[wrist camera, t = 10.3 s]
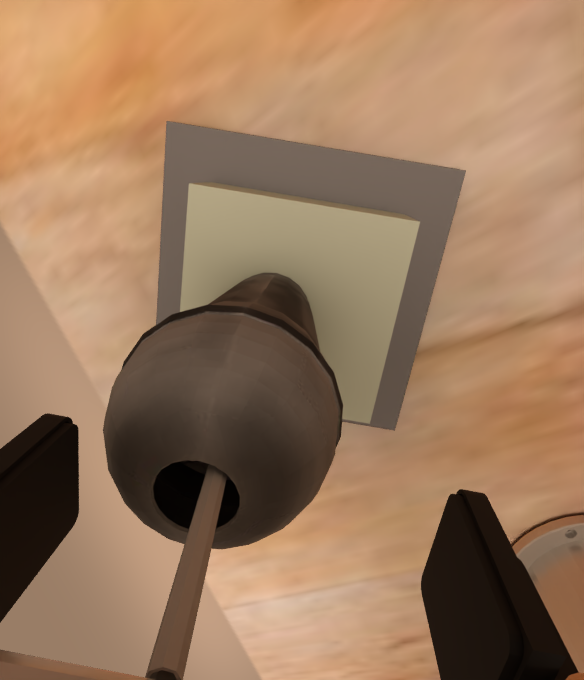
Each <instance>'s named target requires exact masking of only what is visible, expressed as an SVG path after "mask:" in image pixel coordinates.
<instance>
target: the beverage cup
mask: <svg viewBox="0 0 584 680" xmlns="http://www.w3.org/2000/svg"><path fill="white" fill-rule="evenodd" d="M342 414H343V402H342V399H341V395H340V392H339V388H338V385H337V381H336V378H335V374H334V372H333V370H332V369H331V367H330V366H329V365H328V363H327V362H326V360H325V358H324V357H323V355H322V353H321V352H320V348H319V343H318V338H317V333H316V328H315V324H314V319H313V314H312V311H311V307H310V304H309V301H308V299H307V296H306V295H305V293H304V292H303V290H302V289H301V287H300V286H299V285H298V284H297V283H296V282H294V281H293V280H292V279H290V278H289V277H286V276H284V275H281V274H278V273H265V272H264V273H260V274H257V275H253V276H251V277H249V278H246V279H244V280H243V281H241V282H240V283H238V284H237V285H235V286H234V287H232V288H231V289H230V290H228V291H227V292H225V293H224V294H222V295H221V296H219V297H218V298H217V299H215V300H214V301H212V302H211V303H209V304H208V305H204V306H200V307H197V308H193V309H189V310H186V311H182V312H178V313H175V314H172V315H170V316H169V317H167V318H166V319H164V320H163V321H161V322H160V323H158V324H157V325H156V326H154V327H153V328H151V329H150V330H148V331H147V332H145V333H144V334H143V335H142V336H141V338H140V339H139V341H138V342H137V344H136V345H135V347H134V348H133V349H132V351H131V352H130V354H129V355H128V357H127V358H126V360H125V361H124V364H123V366H122V370H121V372H120V373H119V375H118V376H117V378H116V380H115V383H114V385H113V387H112V390H111V395H110V399H109V403H108V407H107V411H106V416H105V421H104V428H103V433H104V440H105V448H106V455H107V462H108V470H109V472H110V474H111V476H112V478H113V480H114V482H115V484H116V486H117V488H118V490H119V492H120V494H121V496H122V498H123V500H124V502H125V504H126V505H127V506H128V507H129V508H130V509H131V510H132V511H133V512H134V513H135V514H136V515H137V517H138V518H139V519H140V520H141V521H142V522H143V523H144V524H145V525H147V526H149V527H150V528H152V529H154V530H155V531H157V532H158V533H160V534H161V535H163V536H165V537H166V538H168V539H170V540H173V541H177V542H179V543H183V544H185V545H184V549H183V552H182V555H181V559H180V562H179V565H178V569H177V572H176V575H175V579H174V582H173V585H172V589H171V592H170V595H169V599H168V602H167V606H166V609H165V612H164V616H163V619H162V622H161V626H160V629H159V633H158V636H157V640H156V643H155V646H154V649H153V653H152V656H151V659H150V663H149V666H148V670H147V673H146V676H145V678H149V679H155V680H183V676H184V671H185V667H186V662H187V657H188V652H189V648H190V643H191V639H192V635H193V630H194V625H195V621H196V616H197V612H198V607H199V603H200V598H201V593H202V589H203V584H204V580H205V575H206V571H207V566H208V561H209V557H210V552H211V548H212V549H227V548H232V547H238V546H244V545H249V544H251V543H254V542H257V541H259V540H261V539H263V538H265V537H267V536H269V535H271V534H273V533H275V532H277V531H279V530H281V529H283V528H284V527H285V526H286V525H288V524H289V523H290V522H291V521H292V520H293V519H294V518H295V517H296V516H297V515H298V514H299V513H300V512H301V511H302V510H303V509H304V508H305V507H306V506H307V505H308V504H309V503H310V502H311V501H312V500H313V499H314V497H315V496H316V494H317V493H318V491H319V489H320V487H321V485H322V483H323V481H324V479H325V476H326V474H327V472H328V470H329V468H330V466H331V464H332V461H333V458H334V455H335V449H336V446H337V444H338V442H339V440H340V437H341V427H342Z"/></svg>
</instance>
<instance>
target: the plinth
mask: <svg viewBox="0 0 584 680" xmlns="http://www.w3.org/2000/svg"><path fill="white" fill-rule="evenodd" d="M465 172H466V171H465V170H459V169H453V168H447V167H441V166H435V165H429V164H423V163H417V162H411V161H405V160H399V159H393V158H387V157H381V156H375V155H369V154H363V153H357V152H350V151H344V150H338V149H332V148H326V147H320V146H314V145H308V144H302V143H296V142H290V141H284V140H278V139H272V138H266V137H260V136H254V135H248V134H242V133H236V132H230V131H224V130H218V129H212V128H206V127H200V126H194V125H188V124H182V123H176V122H170V121H167V124H166V143H165V163H164V182H163V202H162V221H161V241H160V260H159V280H158V299H157V319H156V325H157V324H158V323H160V322H161V321H163V320H164V319H166V318H167V317H169V316H170V315H172V314H175V313H178V312H182V311H186V310H189V309H193V308H197V307H200V306H204V305H208V304H209V303H211V302H212V301H214V300H215V299H217V298H218V297H219V296H221V295H222V294H224V293H225V292H227V291H228V290H230V289H231V288H232V287H234V286H235V285H237V284H238V283H240V282H241V281H243V280H244V279H246V278H249V277H251V276H253V275H257V274H260V273H264V272H265V273H278V274H281V275H284V276H286V277H289V278H290V279H292V280H293V281H294V282H296V283H297V284H298V285H299V286H300V287H301V289H302V290H303V292H304V293H305V295H306V296H307V299H308V301H309V304H310V307H311V311H312V314H313V319H314V324H315V328H316V333H317V338H318V343H319V348H320V352H321V353H322V355H323V357H324V358H325V360H326V362H327V363H328V365H329V366H330V367H331V369H332V370H333V372H334V374H335V378H336V381H337V385H338V388H339V392H340V395H341V399H342V402H343V414H342V422H348V423H354V424H359V425H365V426H371V427H377V428H383V429H389V430H395V428H396V424H397V421H398V417H399V413H400V410H401V406H402V402H403V399H404V395H405V391H406V388H407V384H408V380H409V377H410V373H411V370H412V366H413V362H414V359H415V355H416V351H417V348H418V344H419V340H420V337H421V333H422V329H423V326H424V322H425V318H426V315H427V311H428V307H429V304H430V300H431V297H432V293H433V289H434V286H435V282H436V278H437V275H438V271H439V267H440V264H441V260H442V256H443V253H444V249H445V245H446V242H447V238H448V234H449V231H450V227H451V224H452V220H453V216H454V213H455V209H456V205H457V202H458V198H459V194H460V191H461V187H462V183H463V180H464V176H465Z"/></svg>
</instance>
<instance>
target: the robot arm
mask: <svg viewBox="0 0 584 680" xmlns="http://www.w3.org/2000/svg"><path fill="white" fill-rule="evenodd" d="M78 471H79V463H78V427H77V425H75V424H73V422H72V419H71V418H69V417H64V416H59V415H54V414H44V415H42V416H41V417H40V418H39V419H37V420H36V421H35V422H34V423H32V424H31V425H30V426H29V427H27V428H26V429H25V430H24V431H22V432H21V433H20V434H19V435H17V436H16V437H15V438H14V439H12V440H11V441H10V442H9V443H7V444H6V445H5V446H3V447H2V448H1V449H0V622H1V621H2V620H3V618H4V617H5V616H6V614H7V613H8V612H9V610H10V609H11V608H12V607H13V605H14V604H15V603H16V601H17V600H18V599H19V597H20V596H21V595H22V593H23V592H24V591H25V589H26V588H27V587H28V585H29V584H30V583H31V581H32V580H33V579H34V577H35V576H36V575H37V573H38V572H39V571H40V569H41V568H42V567H43V566H44V564H45V563H46V562H47V560H48V559H49V558H50V556H51V555H52V554H53V552H54V551H55V550H56V548H57V547H58V546H59V544H60V543H61V542H62V540H63V539H64V538H65V537H66V535H67V534H68V533H69V531H70V530H71V529H72V527H73V526H74V524H75V522H76V520H77V517H78V513H79V479H78V478H79V472H78ZM421 591H422V597H423V601H424V606H425V610H426V615H427V619H428V624H429V628H430V633H431V637H432V642H433V646H434V651H435V655H436V660H437V664H438V669H439V673H440V678H441V680H584V515H578V516H571V517H565V518H561V519H558V520H554V521H551V522H548V523H546V524H544V525H542V526H539V527H537V528H535V529H534V530H532V531H531V532H529V533H527V534H526V535H524V536H523V537H522V538H521V539H520V540H519V541H518V542H516V543H515V544H514V545H513V547H512V546H511V544H510V542H509V540H508V538H507V536H506V534H505V532H504V530H503V528H502V526H501V524H500V522H499V520H498V518H497V516H496V514H495V512H494V510H493V508H492V506H491V504H490V502H489V500H488V498H487V496H486V495H485V494H483V493H479V492H473V491H468V490H462V489H460V490H459V491H458V492H457V494H450V496H449V498H448V500H447V503H446V506H445V509H444V512H443V515H442V518H441V521H440V524H439V527H438V530H437V533H436V536H435V539H434V542H433V545H432V548H431V551H430V554H429V557H428V560H427V563H426V566H425V569H424V572H423V575H422V580H421ZM0 680H155V679H149V678H144V677H139V676H134V675H129V674H124V673H119V672H113V671H109V670H103V669H98V668H93V667H88V666H82V665H77V664H72V663H66V662H62V661H56V660H51V659H46V658H40V657H35V656H30V655H25V654H20V653H15V652H9V651H4V650H0Z"/></svg>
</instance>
